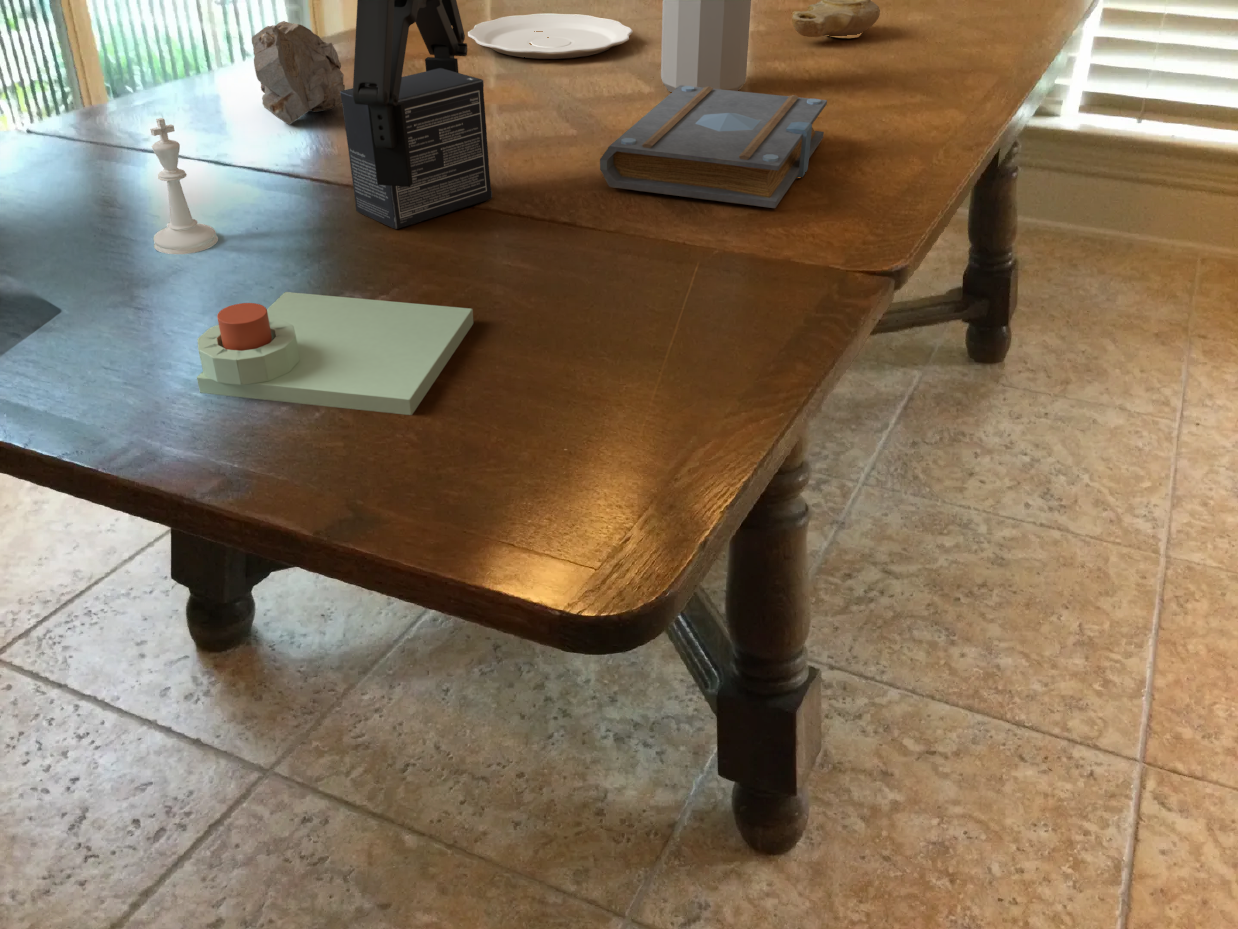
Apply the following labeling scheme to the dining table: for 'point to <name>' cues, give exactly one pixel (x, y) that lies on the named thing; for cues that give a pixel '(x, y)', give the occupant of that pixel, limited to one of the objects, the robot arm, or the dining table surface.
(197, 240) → the chess piece
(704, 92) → the book
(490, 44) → the plate
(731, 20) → the jar
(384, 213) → the small box
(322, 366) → the pale green flat block
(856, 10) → the oil lamp
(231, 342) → the button
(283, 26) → the rock
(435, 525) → the dining table surface
